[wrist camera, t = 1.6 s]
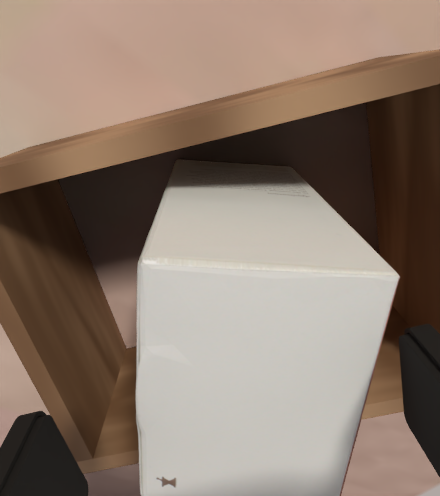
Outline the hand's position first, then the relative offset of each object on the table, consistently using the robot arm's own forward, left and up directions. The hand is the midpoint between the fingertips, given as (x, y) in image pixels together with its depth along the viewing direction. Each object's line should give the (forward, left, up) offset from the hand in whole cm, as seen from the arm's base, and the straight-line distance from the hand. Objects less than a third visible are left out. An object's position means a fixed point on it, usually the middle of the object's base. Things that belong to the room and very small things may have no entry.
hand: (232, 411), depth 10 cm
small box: (-1, 0, -13) cm, 13 cm away
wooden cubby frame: (-1, 0, -13) cm, 13 cm away
